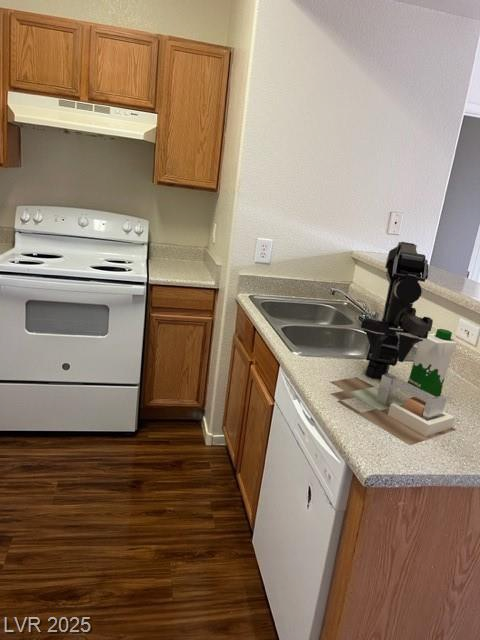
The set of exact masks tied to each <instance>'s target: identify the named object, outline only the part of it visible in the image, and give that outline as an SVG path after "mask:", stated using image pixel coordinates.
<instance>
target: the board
mask: <svg viewBox="0 0 480 640" xmlns="http://www.w3.org/2000/svg"><path fill="white" fill-rule="evenodd" d="M329 383H331V384H332V385H335V386H336V387H337V388H340V389H341V390H342V391H336V392H331V393H330V395H331V396H333V397H334V398H336V399H338V400H337V401H336V402H337V403H339V404H341V405H342V406H344V407H346V409H347V408H348V409H349V410H351V411H352V412H354V413H355V414H357V415H359V416H361V417H362V418H363V419H365V420H367V421H369V422H371V423H372V424H374V425H375V426H377V427H378V428H381V429H382V430H384V431H386V432H387V433H389V434H390V435H392V436H394V437H395V438H397V439H399V440H400V441H402V442H403V443H405V444H407V445H409V446H412V445H413V446H414V445H415V444H418V443H422V442H424V441H427V440H430V439H433V438H436V437H439V436H442V435H445V434H448V433H451V432H455V431H457V429H456V428H454V427H452V428H451V429H447V430H444V431H441V432H438V433H435V434H432V435H429V436H424V435H422V434H420V433H419V432H417V431H415V430H413V429H412V428H410V427H408V426H406V425H405V424H403V423H401V422H399V421H397V420H396V419H394V418H392V417H390V416H389V415H388V412H389V408H390V404H389V405H383V404H381V403H380V402H378V401H376V399H377V395H378V391H379V387H376V386H374V385H372V384H370V383H368V382H367V381H365V380H363V379H361V378H359V377H357V376H356V377H351V378H344V379H343V378H342V379H337V380H332V381H329ZM355 398H357V399H358V400H360V401H362V402H364V403H366V404H368V405H369V406H371V407H373V408H374V409H371V410H370V409H369V410H365V411H359V410H358V409H357V408H354V407H353V406H351V405H350V404H348V403H346V402H344V400H349V399H355ZM405 402H406V401H403V400H401V399H399V398H398V397H395V396H394V399H393V403H395V404H397V405H398V406H400V407H402V408H404V406H405ZM393 403H392V404H393Z"/></svg>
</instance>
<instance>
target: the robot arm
mask: <svg viewBox="0 0 480 640" xmlns="http://www.w3.org/2000/svg"><path fill="white" fill-rule="evenodd" d="M428 262H429V261H428V259H426V254H423V253H422V254H421V253H418V252H417V245H416V244H415V243H411V242H405V241H399V242H397V245H396V247H393V248H392V249H390V250H389V251H388V254H387V258H386V260H385V267H384V268H385V269H386V272H385V276H386V278H387V282H388V284H389V285H388V289H387V294H386V299H385V303H384V304H385V305H384V309H383V314H382V318H381V320H380V319H376V318H370V317H365V318H363V319H362V320H361V324H360V328H361V329H363V332H365V334H366V337H367V340H368V343H369V345H368V347H367V351H366V354H365V360H366V361H368V364H367V366H366V370H365V371H366V372H365V377H367V378H370V379H371V380H373V379H374V380H376V379H377V380H381V378H382V375H383V374H389V369H390V366H392V367H395V366H397V364H398V362H400V363H404V361H405V359H406V358H407V356H408V354H409V353H410V351H411V350H412V348H413V347H414V345H416V344H417V343H418V342H420V341H423V339H419V338H425V339H427V337H428V334H429V332H431V331H432V327H433V322H434V319H432V318H431V317H429V316H423V317H421V316H417V315H416V313H417V310H416V308H415V307H413V305H414V303H415V302H417V301H418V300H420V297H421V296H422V293H423V291H422V286H421V285H420V283H419V282H424V283H425V282H426V280H428V278H429V277H428V276H429V267H430V266H429V264H428ZM397 333H399V334H398V335H397Z"/></svg>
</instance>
